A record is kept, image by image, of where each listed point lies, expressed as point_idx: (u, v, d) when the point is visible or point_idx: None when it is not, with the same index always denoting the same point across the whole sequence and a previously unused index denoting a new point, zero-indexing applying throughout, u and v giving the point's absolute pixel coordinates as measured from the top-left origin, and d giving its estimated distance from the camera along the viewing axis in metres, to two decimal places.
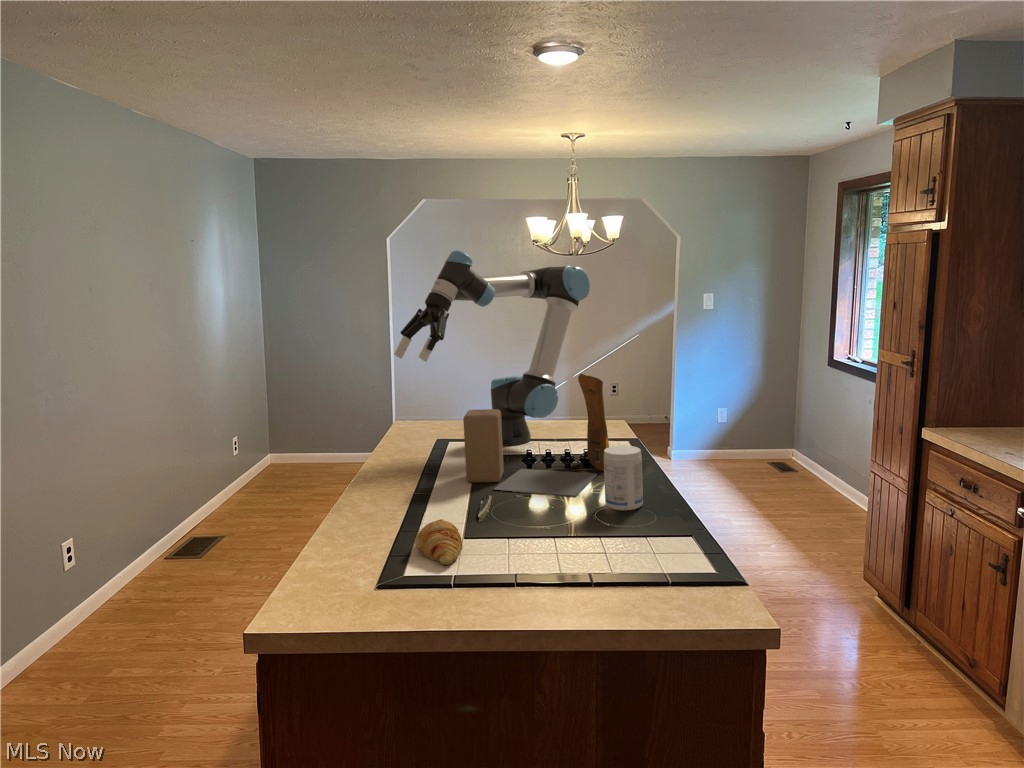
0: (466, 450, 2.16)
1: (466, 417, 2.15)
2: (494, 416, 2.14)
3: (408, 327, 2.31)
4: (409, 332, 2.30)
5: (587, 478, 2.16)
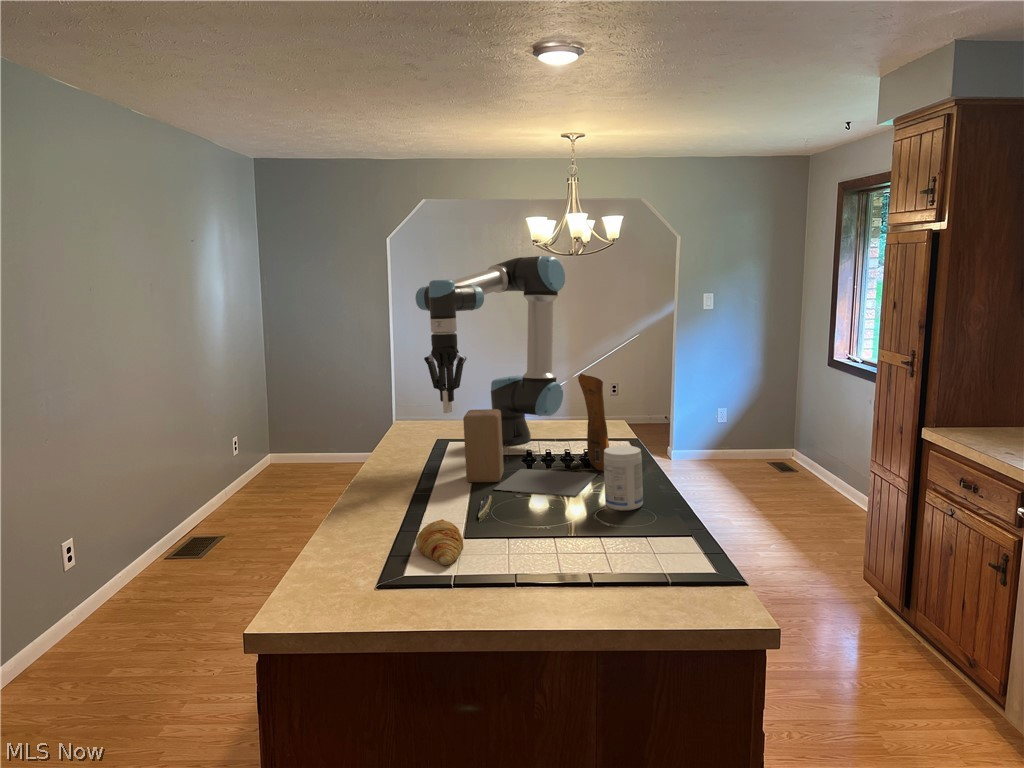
0: (466, 450, 2.16)
1: (466, 417, 2.15)
2: (494, 416, 2.14)
3: (435, 378, 2.22)
4: (443, 382, 2.21)
5: (587, 478, 2.16)
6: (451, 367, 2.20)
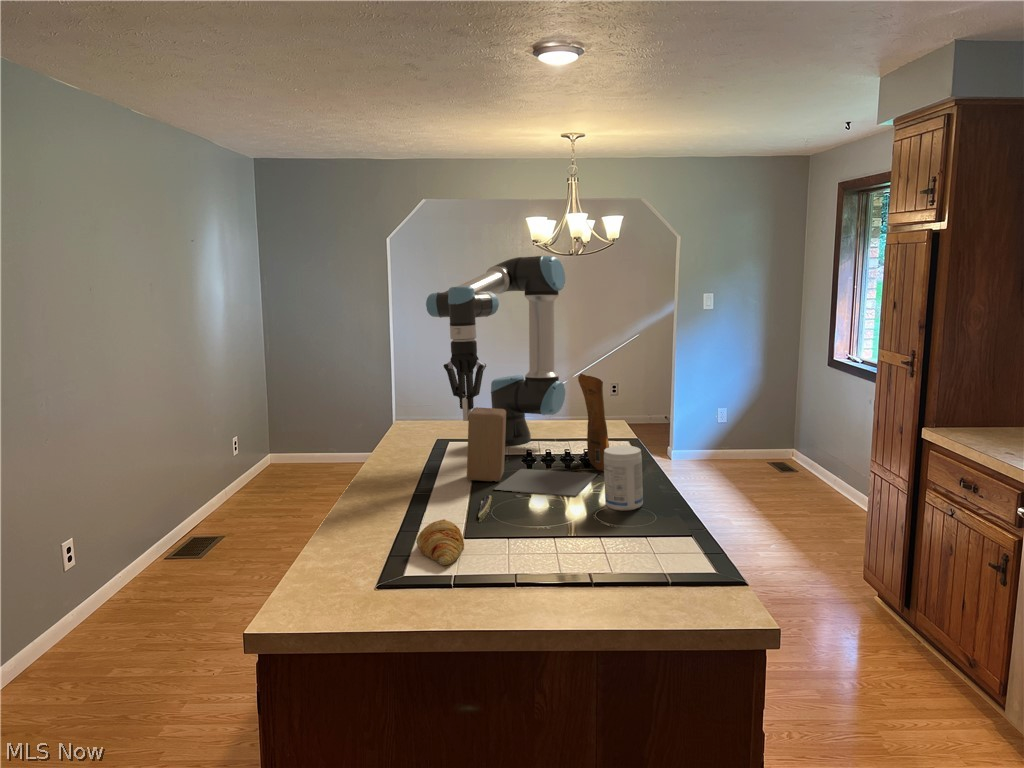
0: (469, 447, 2.16)
1: (472, 415, 2.14)
2: (500, 416, 2.14)
3: (454, 385, 2.20)
4: (462, 390, 2.19)
5: (587, 478, 2.16)
6: (471, 374, 2.18)
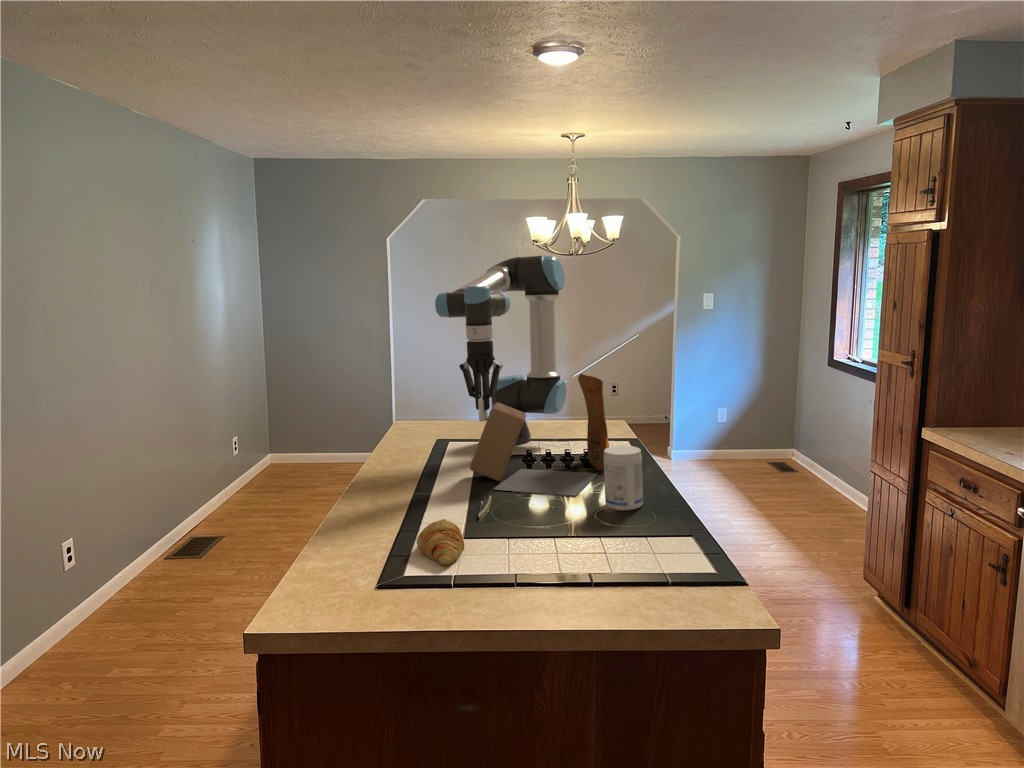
0: (481, 440, 2.15)
1: (494, 410, 2.13)
2: (521, 419, 2.13)
3: (470, 385, 2.18)
4: (478, 390, 2.17)
5: (587, 478, 2.16)
6: (487, 374, 2.16)
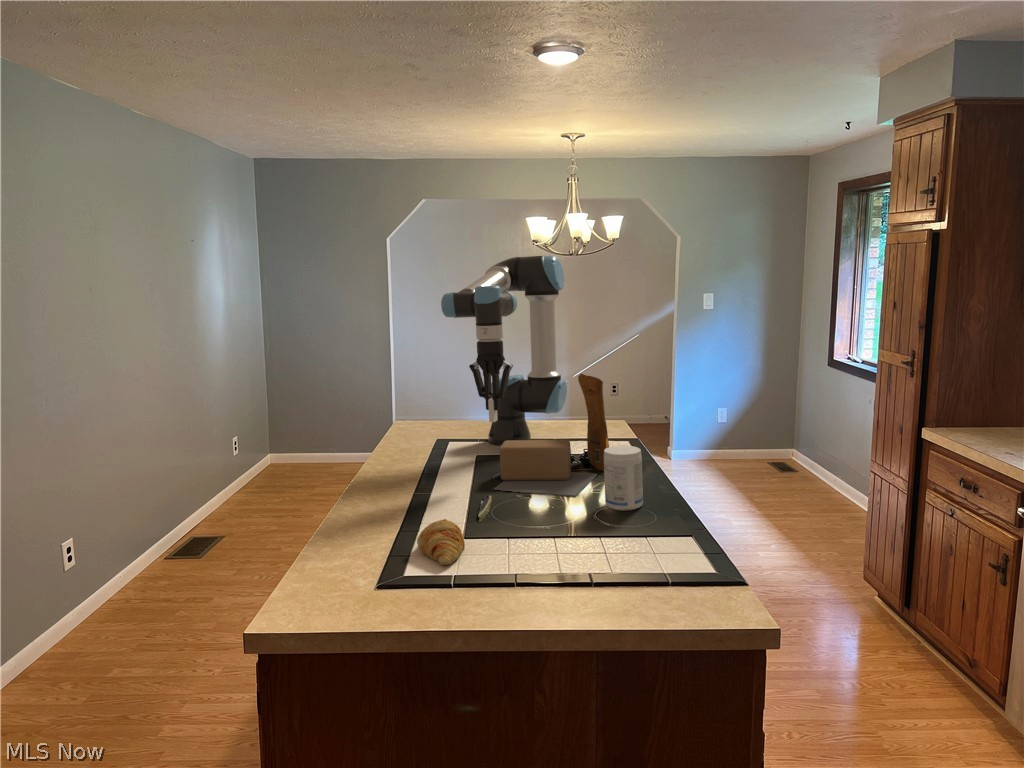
0: (532, 449, 2.14)
1: (566, 450, 2.13)
2: (568, 477, 2.14)
3: (480, 385, 2.17)
4: (489, 390, 2.16)
5: (587, 478, 2.16)
6: (497, 375, 2.15)
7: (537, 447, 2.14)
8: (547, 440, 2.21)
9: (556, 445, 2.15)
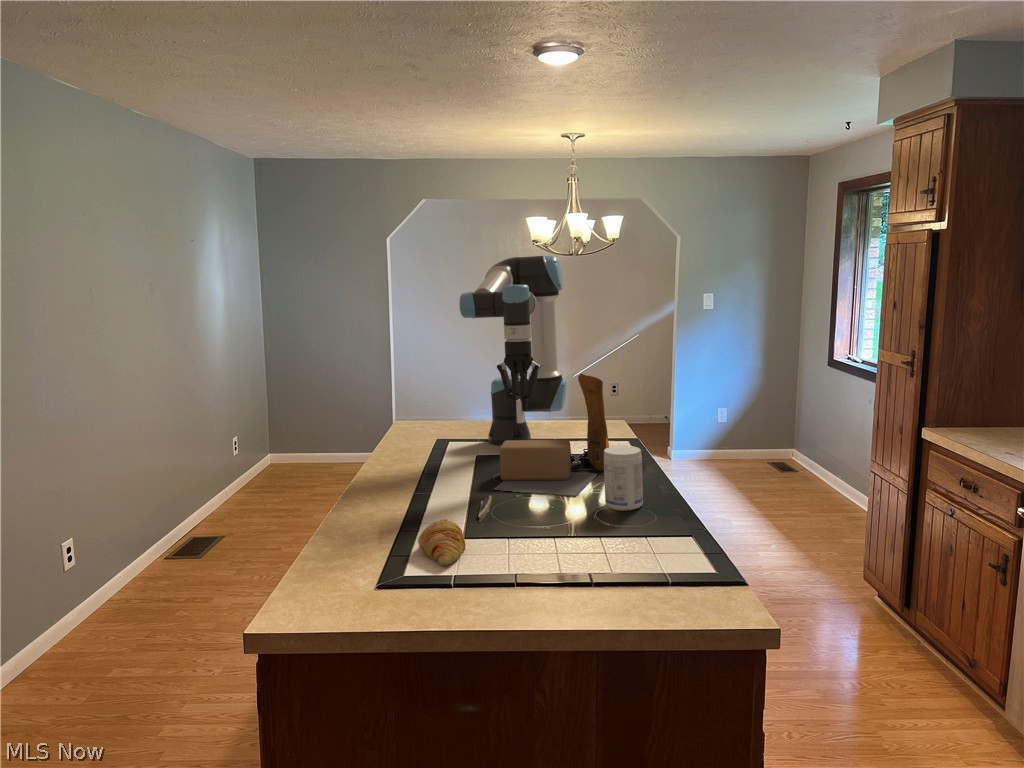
0: (532, 449, 2.14)
1: (566, 450, 2.13)
2: (568, 477, 2.14)
3: (508, 386, 2.14)
4: (516, 391, 2.13)
5: (587, 478, 2.16)
6: (525, 375, 2.12)
7: (537, 447, 2.14)
8: (547, 440, 2.21)
9: (556, 445, 2.15)
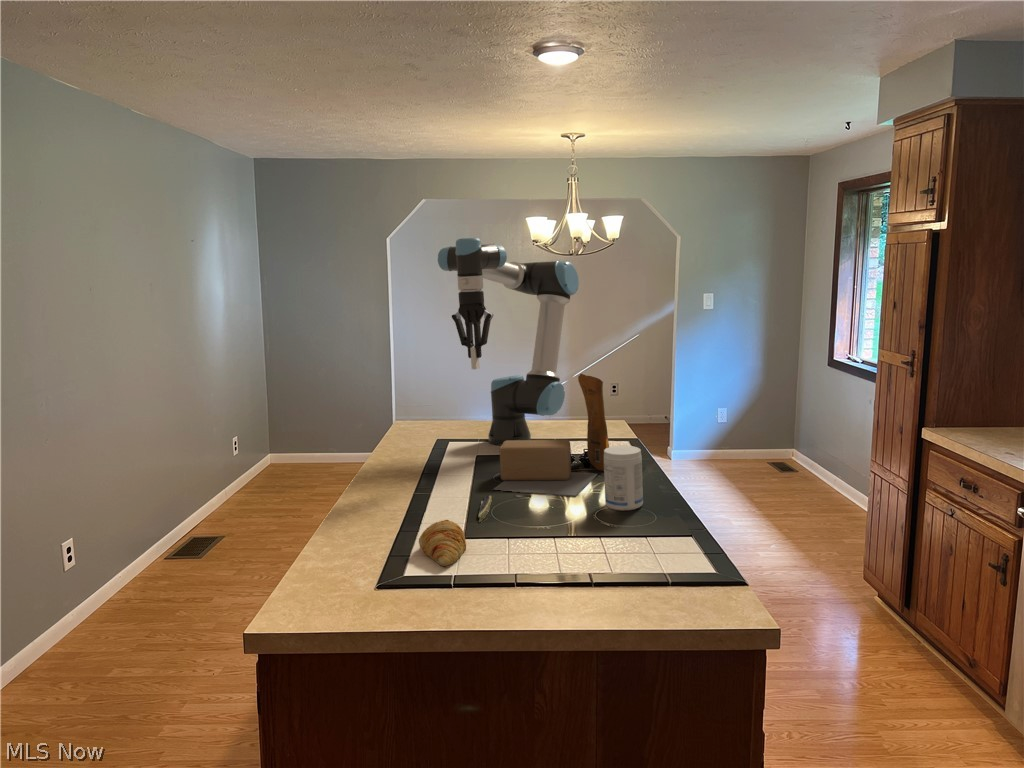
0: (532, 449, 2.14)
1: (566, 450, 2.13)
2: (568, 477, 2.14)
3: (463, 335, 2.27)
4: (470, 339, 2.27)
5: (587, 478, 2.16)
6: (478, 324, 2.26)
7: (537, 447, 2.14)
8: (547, 440, 2.21)
9: (556, 445, 2.15)
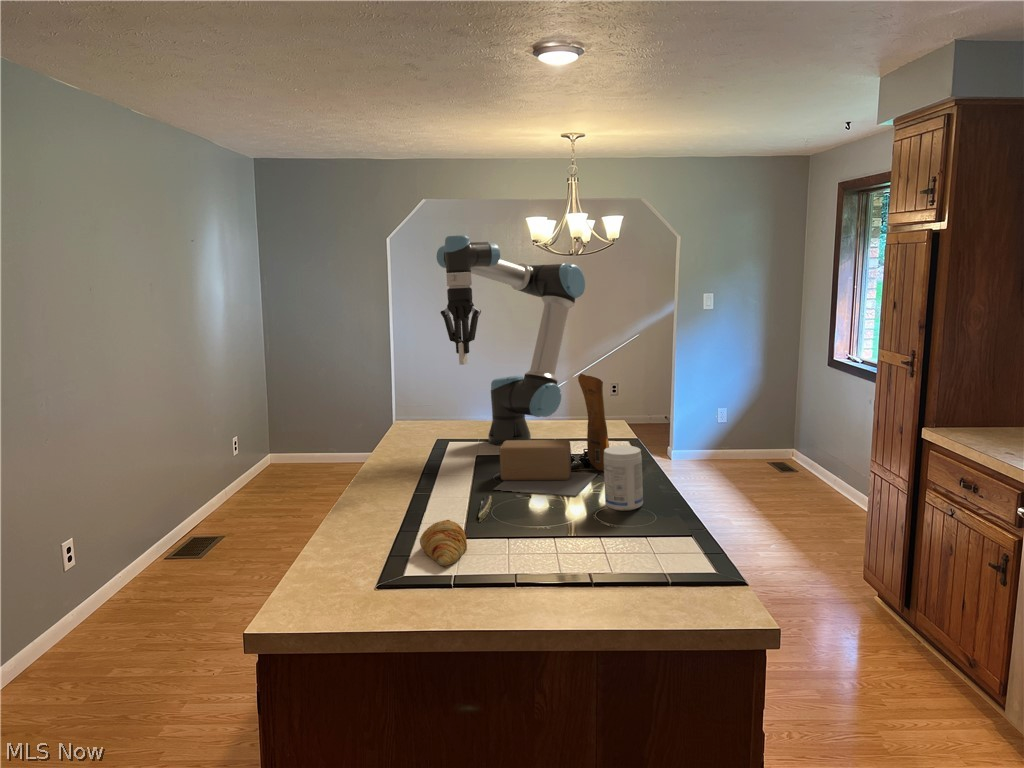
0: (532, 449, 2.14)
1: (566, 450, 2.13)
2: (568, 477, 2.14)
3: (451, 330, 2.31)
4: (459, 335, 2.30)
5: (587, 478, 2.16)
6: (466, 320, 2.29)
7: (537, 447, 2.14)
8: (547, 440, 2.21)
9: (556, 445, 2.15)
